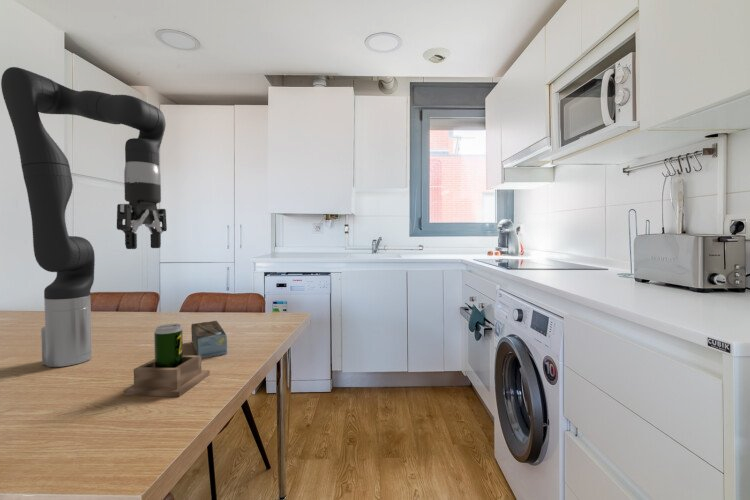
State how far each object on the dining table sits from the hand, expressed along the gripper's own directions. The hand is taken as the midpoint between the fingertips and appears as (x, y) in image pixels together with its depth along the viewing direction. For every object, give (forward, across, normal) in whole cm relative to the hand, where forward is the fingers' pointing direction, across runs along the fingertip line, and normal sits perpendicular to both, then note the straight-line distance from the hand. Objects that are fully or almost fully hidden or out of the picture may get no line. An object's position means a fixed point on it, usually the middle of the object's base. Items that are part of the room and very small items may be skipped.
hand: (144, 248), depth 88 cm
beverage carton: (+31, -18, +6) cm, 36 cm away
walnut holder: (+30, +9, +12) cm, 34 cm away
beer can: (+29, +9, +12) cm, 33 cm away
